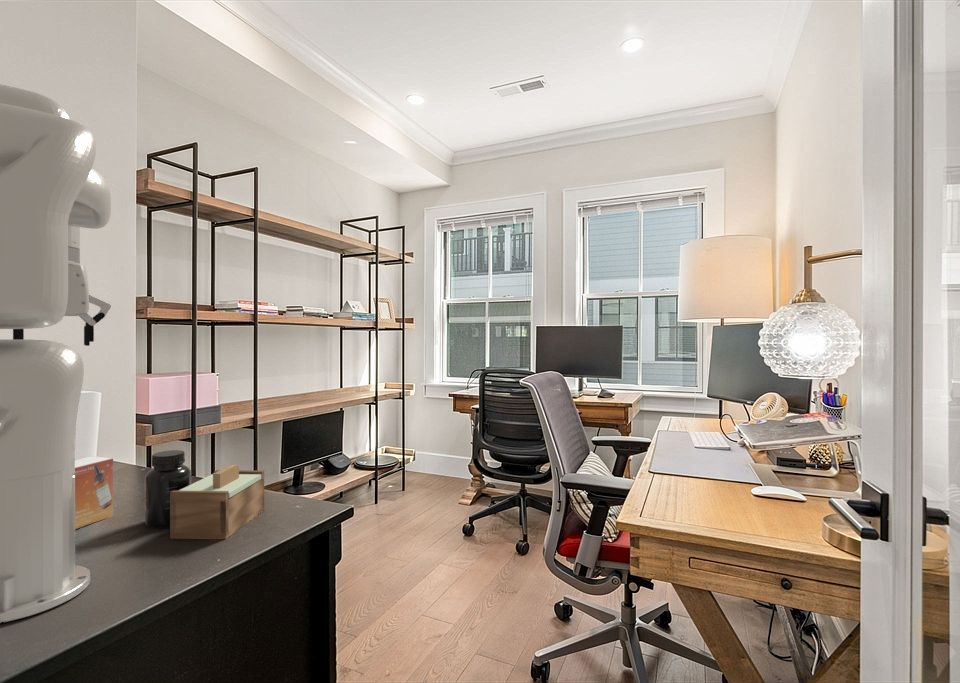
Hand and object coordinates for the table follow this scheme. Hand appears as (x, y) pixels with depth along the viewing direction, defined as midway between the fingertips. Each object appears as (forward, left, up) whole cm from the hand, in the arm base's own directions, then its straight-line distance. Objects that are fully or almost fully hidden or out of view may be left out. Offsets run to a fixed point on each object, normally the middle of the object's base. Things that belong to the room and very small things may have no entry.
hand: (54, 345), depth 94 cm
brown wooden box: (-9, -38, -30) cm, 50 cm away
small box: (-10, -13, -31) cm, 35 cm away
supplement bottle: (-9, -28, -31) cm, 43 cm away
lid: (-9, -38, -24) cm, 46 cm away
